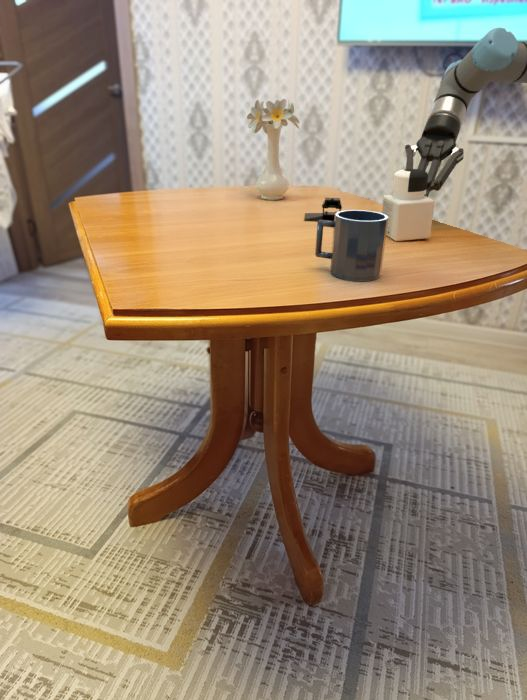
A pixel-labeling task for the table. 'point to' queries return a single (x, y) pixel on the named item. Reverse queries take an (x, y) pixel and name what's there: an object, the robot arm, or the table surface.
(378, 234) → the mug
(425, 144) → the robot arm
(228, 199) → the table surface
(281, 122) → the flower vase
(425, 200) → the container
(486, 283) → the table surface
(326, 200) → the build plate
